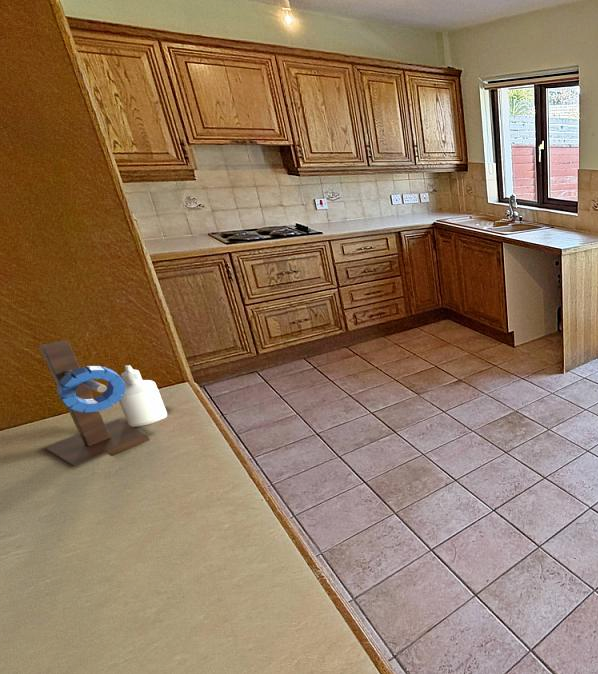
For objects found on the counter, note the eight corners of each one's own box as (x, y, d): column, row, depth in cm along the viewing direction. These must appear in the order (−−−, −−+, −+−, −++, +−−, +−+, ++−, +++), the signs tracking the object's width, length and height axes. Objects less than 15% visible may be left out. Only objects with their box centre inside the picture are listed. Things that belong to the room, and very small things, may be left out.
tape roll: (97, 413, 79) (43, 396, 73) (131, 377, 82) (82, 358, 76) (101, 419, 78) (48, 401, 72) (136, 382, 81) (87, 362, 75)
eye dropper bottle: (161, 424, 91) (140, 369, 86) (124, 428, 89) (101, 373, 85) (171, 412, 95) (152, 359, 90) (136, 416, 93) (114, 362, 88)
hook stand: (47, 453, 82) (-6, 348, 74) (120, 424, 91) (79, 327, 82) (95, 483, 76) (43, 372, 68) (169, 449, 85) (130, 347, 77)
